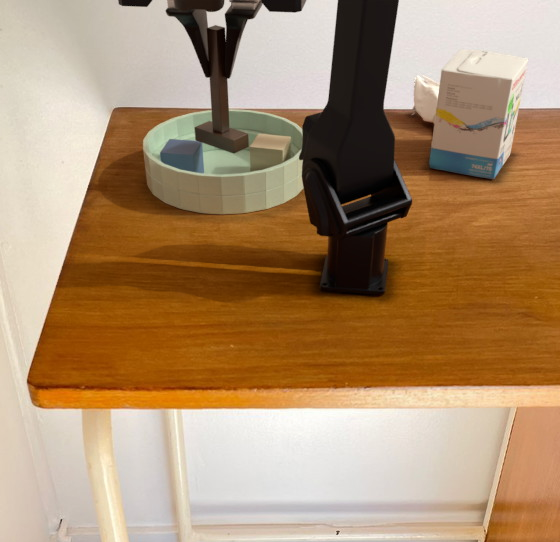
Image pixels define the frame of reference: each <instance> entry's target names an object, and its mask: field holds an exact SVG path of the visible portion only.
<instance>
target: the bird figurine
mask: <svg viewBox="0 0 560 542" xmlns="http://www.w3.org/2000/svg"><path fill="white" fill-rule="evenodd" d="M422 77H423V78H422ZM422 77H421V76H419V74H417V76H415V78H414V82H413V83H414V85H413V107H412V111H413V113H412V114H411V116H414V115H416V113H417V114H418V115H419V116H420V117H421V119H422V120H423V121H424V122H428V123H433V124H434V123H435V116H436V108H437V101H438V93H439V86H440V82H438V81H436V80H433V79H432V78H430V77H428V76H426V75H425V74H423V75H422Z"/></svg>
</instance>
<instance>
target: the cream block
mask: <svg viewBox="0 0 560 542" xmlns="http://www.w3.org/2000/svg"><path fill="white" fill-rule="evenodd" d="M289 159H291V137H289V136H279V135H269V134H258V135H257V136H256V138H255V139H254V141H253V142H252V144H251V145H250V172H253V171H259V170H264V169H267V168H270V167H273V166H276V165H279V164H282V163H283V162H285V161H287V160H289Z"/></svg>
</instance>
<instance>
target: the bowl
mask: <svg viewBox="0 0 560 542" xmlns="http://www.w3.org/2000/svg"><path fill="white" fill-rule="evenodd" d="M208 121H212V109H208V110H202V111H194V112H190V113H186V114H182V115H179V116H174V117H172V118H170V119H168V120H167V119H166V120H165V121H163V122H161V123H158V124H157V125H156V126H153V128H152V129H150V130H149V131H148V132H147V134H146V135H145V136H144V138H143V140H142V153H143V161H144V168H145V179H146V186H147V188H148V189H149V191H150V192H151V194H152V196H153V197H155V198H156V199H158V200H160V201H161V202H163V203H164V204H166V205H169V206H171V207H174V208H177V209H180V210H184V211H187V212H192V213H193V212H194V213H198V214H208V215H209V214H210V215H239V214H248V213H253V212H259V211H265V210H268V209H271V208H275V207H277V206H281V205H283V204H285V203H287V202H289V201H291V200H292V199H294V198H295V197H298V195H299V194H300V193H301V192H303V191H304V187H303V182H302V163H303V160H299V155H300V153H301V150H302V142H303V136H302V127H301V126H299V125H298V123H296V122H293V120H290V119H288V118H286V117H283V116H279V115H277V114H273V113H269V112H265V111H264V112H263V111H259V110H251V109H238V108H237V109H236V108H235V109H234V108H229V126H230V128H233V129H236V130H239V131H242V132H245V133H248V138H249V147H247V148H245V149H243V150H241V151H239V152H237V153H235V154H234V153H231V152H228V151H225V150H222V149H219V148H216V147H213V146H211V145H208V144H205V143H202V147H203V162H204V173H196V172H191V171H186V170H180V169H178V168H175V167H172V166H169V165H166V164H164V163H163V162H161V158H160V152H161V150H162V149H163V148H164V146H165V145H166V143H167V142H168V140H169V139H178V140H192V141H196V140H195V127H196V126H199V125H201V124H203V123H205V122H208ZM258 134H269V135H279V136H289V137H291V159H289V160H287V161H285V162H283V163H282V164H279V165H276V166H273V167H270V168H267V169H264V170H259V171H253V172H250V145H251V144H252V142H253V141H254V139H255V138H256V136H257V135H258Z"/></svg>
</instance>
